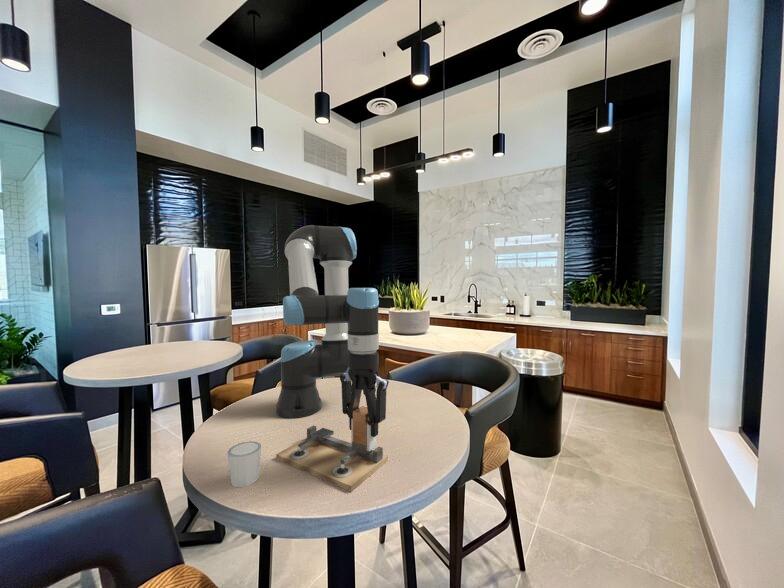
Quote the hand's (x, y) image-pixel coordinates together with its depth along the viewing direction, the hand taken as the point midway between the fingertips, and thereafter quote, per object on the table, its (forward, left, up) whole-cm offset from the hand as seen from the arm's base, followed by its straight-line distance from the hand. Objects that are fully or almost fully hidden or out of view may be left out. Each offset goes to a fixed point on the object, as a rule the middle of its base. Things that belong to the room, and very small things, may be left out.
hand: (363, 445), depth 78 cm
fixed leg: (-14, -3, -2) cm, 14 cm away
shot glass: (-18, -20, -4) cm, 27 cm away
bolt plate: (-7, -4, -4) cm, 9 cm away
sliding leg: (0, -3, -2) cm, 4 cm away
